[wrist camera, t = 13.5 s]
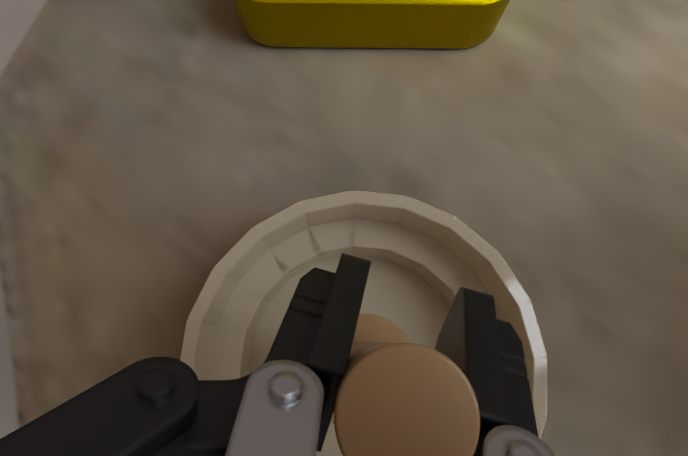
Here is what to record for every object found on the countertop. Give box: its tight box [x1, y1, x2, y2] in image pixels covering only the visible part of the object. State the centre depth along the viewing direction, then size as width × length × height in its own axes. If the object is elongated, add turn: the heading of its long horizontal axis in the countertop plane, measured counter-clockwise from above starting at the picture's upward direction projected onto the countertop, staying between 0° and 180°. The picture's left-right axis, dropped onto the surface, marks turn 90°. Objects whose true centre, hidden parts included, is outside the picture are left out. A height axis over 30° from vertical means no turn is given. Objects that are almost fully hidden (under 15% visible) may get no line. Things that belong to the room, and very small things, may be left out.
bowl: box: [180, 190, 548, 456], centre depth 22 cm, size 14×14×6 cm
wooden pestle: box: [330, 313, 480, 456], centre depth 15 cm, size 4×4×15 cm
